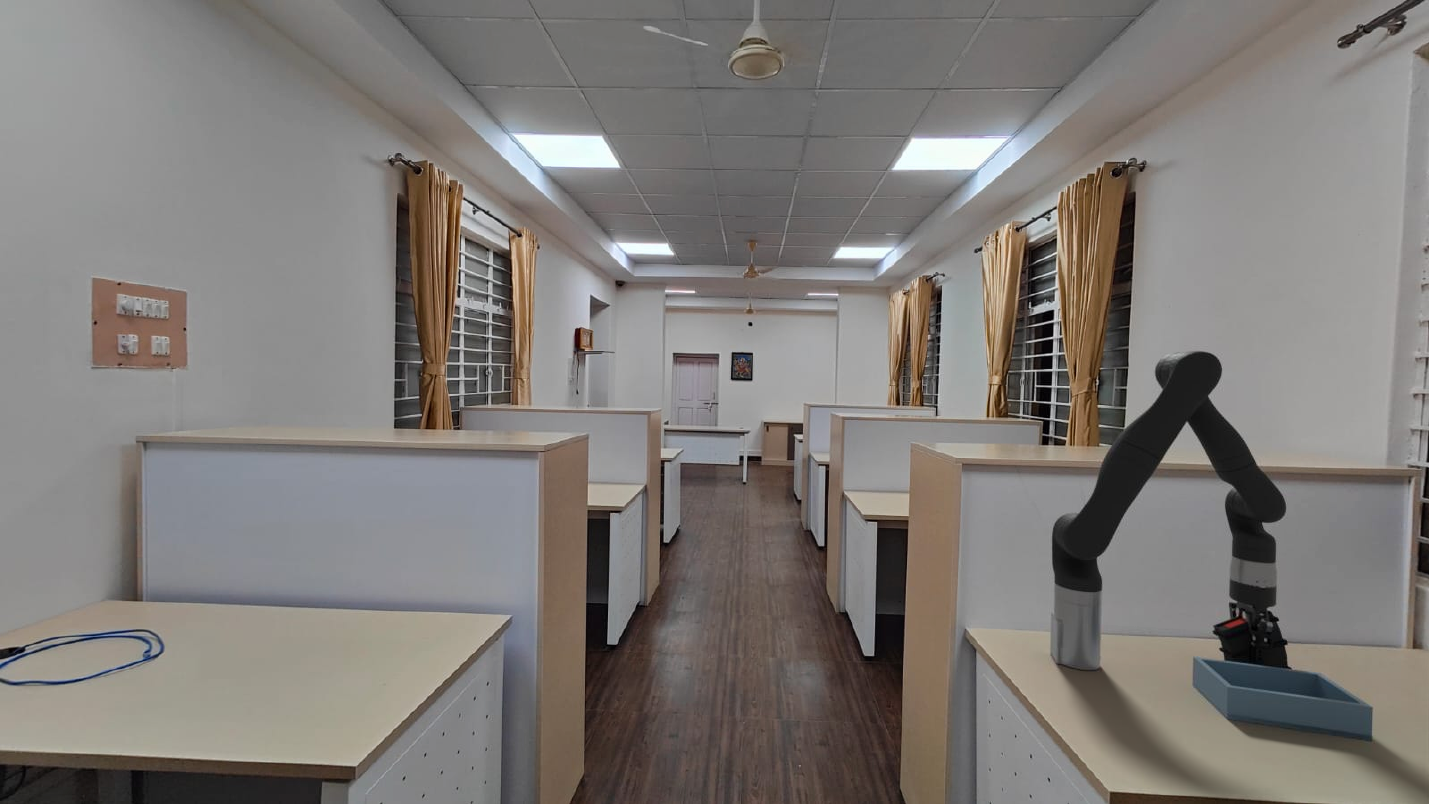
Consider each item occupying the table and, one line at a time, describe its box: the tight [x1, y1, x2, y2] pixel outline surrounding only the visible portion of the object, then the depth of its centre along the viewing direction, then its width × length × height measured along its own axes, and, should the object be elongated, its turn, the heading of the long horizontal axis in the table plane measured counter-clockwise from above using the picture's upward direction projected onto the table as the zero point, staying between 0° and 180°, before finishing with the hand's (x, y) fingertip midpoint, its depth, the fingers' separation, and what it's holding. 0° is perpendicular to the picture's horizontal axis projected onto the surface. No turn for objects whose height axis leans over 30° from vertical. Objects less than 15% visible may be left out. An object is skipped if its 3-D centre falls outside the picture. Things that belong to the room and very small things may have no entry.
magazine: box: [1212, 609, 1293, 669], centre depth 128 cm, size 4×13×15 cm, turn 84°
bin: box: [1191, 656, 1374, 742], centre depth 114 cm, size 21×14×6 cm, turn 72°
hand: (1250, 658), depth 128 cm, fingers closed on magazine, 4 cm apart
